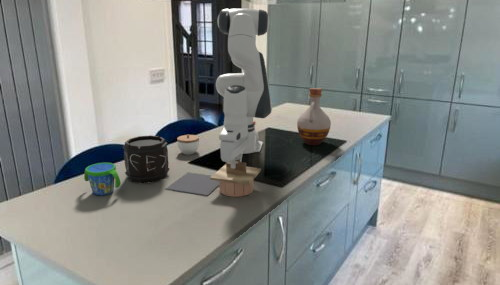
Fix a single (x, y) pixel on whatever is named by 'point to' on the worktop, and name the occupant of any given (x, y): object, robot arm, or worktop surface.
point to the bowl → (236, 189)
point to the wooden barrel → (146, 159)
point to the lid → (236, 174)
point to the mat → (194, 184)
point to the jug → (314, 121)
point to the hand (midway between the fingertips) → (236, 165)
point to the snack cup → (102, 178)
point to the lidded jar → (188, 143)
